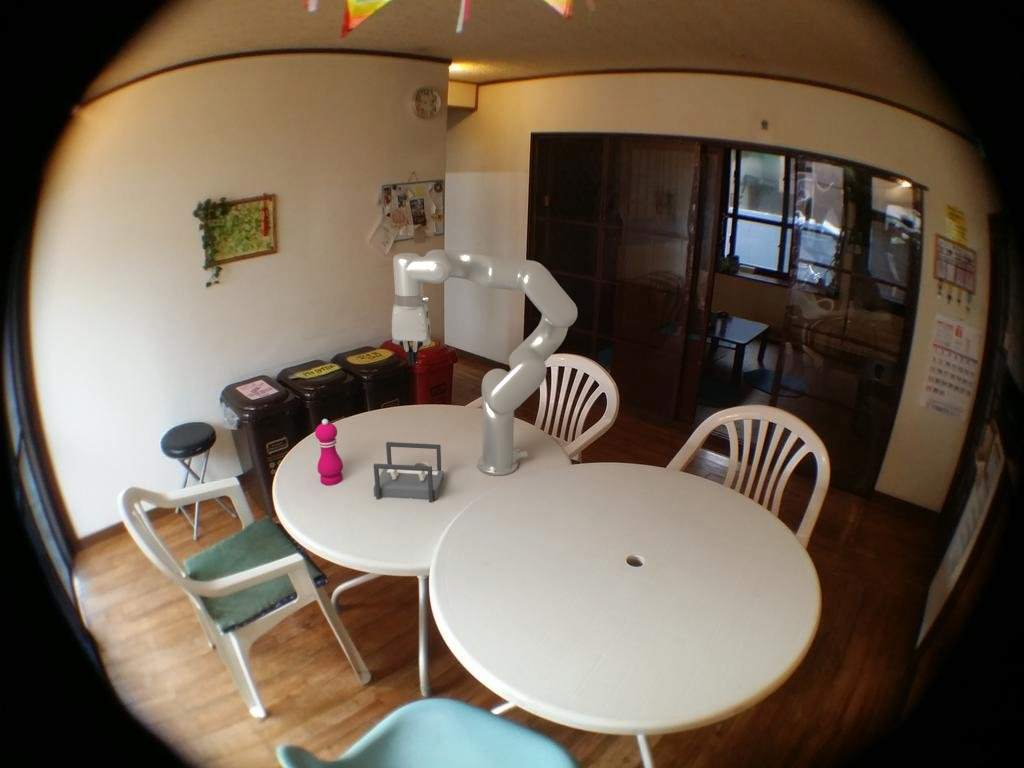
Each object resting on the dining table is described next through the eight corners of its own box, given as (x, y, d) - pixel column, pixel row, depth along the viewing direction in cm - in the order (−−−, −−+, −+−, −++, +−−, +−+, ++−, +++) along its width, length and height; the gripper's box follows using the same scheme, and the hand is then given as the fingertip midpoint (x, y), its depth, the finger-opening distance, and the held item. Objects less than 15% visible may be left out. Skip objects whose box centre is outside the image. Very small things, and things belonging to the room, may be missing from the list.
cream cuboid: (425, 475, 165) (423, 468, 164) (423, 480, 162) (421, 473, 162) (422, 475, 165) (420, 468, 164) (420, 480, 163) (418, 473, 162)
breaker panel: (443, 479, 170) (443, 470, 169) (437, 500, 160) (436, 490, 159) (384, 476, 171) (384, 467, 170) (374, 496, 161) (373, 487, 160)
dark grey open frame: (441, 476, 171) (440, 444, 167) (432, 502, 159) (431, 468, 154) (389, 474, 172) (386, 441, 168) (376, 499, 159) (373, 465, 155)
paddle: (398, 473, 165) (396, 466, 164) (396, 478, 163) (393, 471, 162) (395, 474, 166) (392, 467, 165) (392, 479, 163) (390, 472, 162)
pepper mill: (348, 474, 171) (341, 414, 164) (338, 487, 165) (332, 425, 157) (325, 472, 172) (317, 413, 164) (315, 485, 165) (306, 424, 158)
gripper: (439, 297, 157) (441, 360, 164) (386, 295, 158) (390, 358, 165) (434, 304, 150) (436, 369, 157) (378, 302, 151) (382, 367, 158)
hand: (412, 363), depth 161 cm, fingers closed
